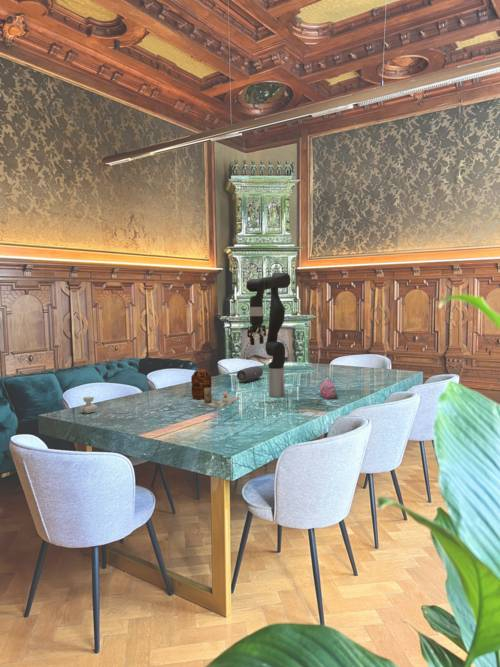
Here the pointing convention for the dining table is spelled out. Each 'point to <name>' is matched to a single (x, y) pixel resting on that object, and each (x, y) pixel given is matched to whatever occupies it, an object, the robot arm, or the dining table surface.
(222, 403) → the board
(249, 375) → the bluetooth speaker
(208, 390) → the walnut pin
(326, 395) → the pencil case
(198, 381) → the wooden figurine
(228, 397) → the key plate
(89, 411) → the stamp
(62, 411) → the dining table surface
